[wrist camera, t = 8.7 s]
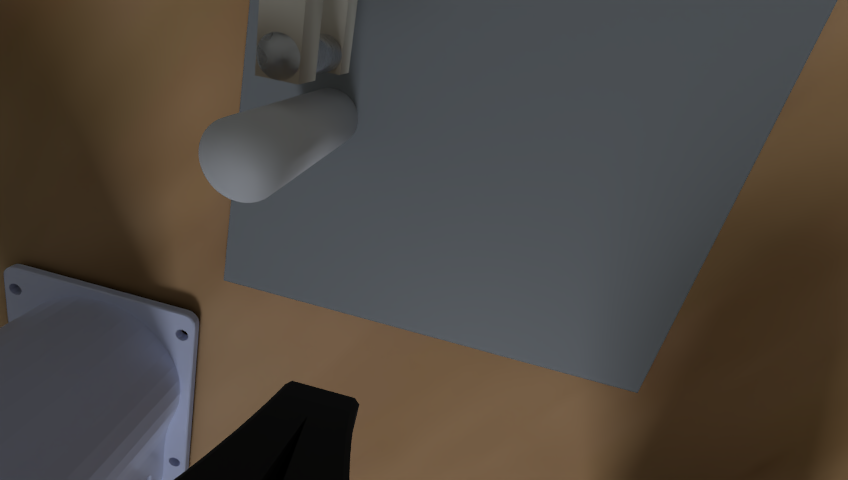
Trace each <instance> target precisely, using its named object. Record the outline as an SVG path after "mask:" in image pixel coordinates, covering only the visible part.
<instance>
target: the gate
mask: <svg viewBox="0 0 848 480" xmlns="http://www.w3.org/2000/svg"><path fill="white" fill-rule="evenodd" d="M357 2H358V0H259V12H258V29H257V47H256V65H255V76H260V77H265V78H270V79H274V80H279V81H284V82H288V83H293V84H298V85H299V84H303V83H307V82H312V81H315V78H316V74H318V73H323V72H328V73H333V74H337V75H342V74H346V73H349V65H350V57H351V49H352V41H353V33H354V25H355V18H356V10H357Z"/></svg>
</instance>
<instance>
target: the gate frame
mask: <svg viewBox="0 0 848 480" xmlns="http://www.w3.org/2000/svg"><path fill="white" fill-rule="evenodd" d="M836 2H837V0H358V2H357V10H356V18H355V25H354V33H353V41H352V49H351V57H350V65H349V73H346V74H342V75H337V74H333V73H328V72H323V73H318V74H316V78H315V81H312V82H307V83H303V84H299V85H298V84H293V83H288V82H284V81H279V80H274V79H270V78H265V77H260V76H255V65H256V47H257V29H258V12H259V0H250V6H249V16H248V27H247V38H246V48H245V59H244V70H243V81H242V91H241V102H240V113H237V114H234V115H230V116H227V117H223V118H221V119H218V120H216V121H215V122H213V123H212V124H211V125H210V126H209V127H208V128H207V129H206V130H205V132H204V133H203V135H202V138H201V140H200V144H199V161H200V165H201V168H202V171H203V173H204V175H205V177H206V178H207V180H208V181H209V183H210V184H211V185H212V186H213V187H214V188H215V189H216V190H217V191H218V192H219V193H221V194H222V195H224V196H225V197H227V198H229V199H231V209H230V220H229V230H228V241H227V252H226V263H225V273H224V280H225V281H228V282H232V283H236V284H239V285H243V286H247V287H250V288H254V289H258V290H262V291H265V292H269V293H273V294H276V295H280V296H284V297H287V298H291V299H295V300H298V301H302V302H306V303H309V304H313V305H317V306H320V307H324V308H328V309H331V310H335V311H339V312H342V313H346V314H350V315H353V316H357V317H361V318H364V319H368V320H372V321H375V322H379V323H383V324H386V325H390V326H394V327H397V328H401V329H405V330H408V331H412V332H416V333H419V334H423V335H427V336H430V337H434V338H438V339H441V340H445V341H449V342H452V343H456V344H460V345H463V346H467V347H471V348H474V349H478V350H482V351H485V352H489V353H493V354H496V355H500V356H504V357H507V358H511V359H515V360H518V361H522V362H526V363H529V364H533V365H537V366H540V367H544V368H548V369H551V370H555V371H559V372H562V373H566V374H570V375H573V376H577V377H581V378H584V379H588V380H592V381H595V382H599V383H603V384H607V385H610V386H614V387H618V388H621V389H625V390H629V391H632V392H636V393H638V391H639V389H640V387H641V385H642V383H643V381H644V379H645V377H646V375H647V373H648V371H649V369H650V367H651V365H652V363H653V361H654V359H655V357H656V355H657V353H658V352H659V350H660V348H661V346H662V344H663V342H664V340H665V338H666V336H667V334H668V332H669V330H670V328H671V326H672V324H673V322H674V320H675V318H676V316H677V314H678V312H679V310H680V308H681V306H682V304H683V302H684V300H685V299H686V297H687V295H688V293H689V291H690V289H691V287H692V285H693V283H694V281H695V279H696V277H697V275H698V273H699V271H700V269H701V267H702V265H703V263H704V261H705V259H706V257H707V255H708V253H709V251H710V249H711V247H712V245H713V244H714V242H715V240H716V238H717V236H718V234H719V232H720V230H721V228H722V226H723V224H724V222H725V220H726V218H727V216H728V214H729V212H730V210H731V208H732V206H733V204H734V202H735V200H736V198H737V196H738V194H739V192H740V190H741V189H742V187H743V185H744V183H745V181H746V179H747V177H748V175H749V173H750V171H751V169H752V167H753V165H754V163H755V161H756V159H757V157H758V155H759V153H760V151H761V149H762V147H763V145H764V143H765V141H766V139H767V137H768V135H769V134H770V132H771V130H772V128H773V126H774V124H775V122H776V120H777V118H778V116H779V114H780V112H781V110H782V108H783V106H784V104H785V102H786V100H787V98H788V96H789V94H790V92H791V90H792V88H793V86H794V84H795V82H796V80H797V79H798V77H799V75H800V73H801V71H802V69H803V67H804V65H805V63H806V61H807V59H808V57H809V55H810V53H811V51H812V49H813V47H814V45H815V43H816V41H817V39H818V37H819V35H820V33H821V31H822V29H823V27H824V26H825V24H826V22H827V20H828V18H829V16H830V14H831V12H832V10H833V8H834V6H835V4H836Z"/></svg>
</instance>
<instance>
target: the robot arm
mask: <svg viewBox="0 0 848 480" xmlns="http://www.w3.org/2000/svg"><path fill="white" fill-rule="evenodd" d="M4 283H5V293H6V303H7V313H8V324H6V325H4V326H2V327H1V328H0V480H349V470H350V452H351V440H352V432H353V428H354V424H355V420H356V416H357V412H358V407H359V404H358V402H357V401H356V399H355V398H352V397H349V396H345V395H342V394H338V393H334V392H331V391H327V390H323V389H320V388H316V387H313V386H309V385H305V384H302V383H298V382H294V381H291V382H289V383H287V384H285V385H284V386H283V387H282V388H281V389H280V390H279V391H278V392H277V393H276V394H275V395H274V396H273V397H272V398H271V399H270V400H269V401H268V402H267V403H266V404H265V405H264V406H263V407H261V408H260V409H259V410H258V411H257V412H256V413H255V414H254V415H253V416H252V417H250V418H249V419H248V420H247V421H246V422H245V423H244V424H242V425H241V426H240V427H239V428H238V429H237V430H236V431H234V432H233V433H232V434H231V435H230V436H228V437H227V438H226V439H225V440H224V441H222V442H221V443H220V444H219V445H217V446H216V447H215V448H214V449H213V450H211V451H210V452H209V453H208V454H207V455H205V456H204V457H203V458H202V459H200V460H199V461H198V462H197V463H195V464H194V465H193V466H191V467H190V468H189V469H188V467H189V454H190V441H191V427H192V414H193V400H194V387H195V374H196V360H197V347H198V333H199V319H198V317H197V316H196V315H195V314H194V313H193V312H192V311H189V310H187V309H183V308H179V307H176V306H172V305H168V304H165V303H161V302H158V301H154V300H150V299H147V298H143V297H139V296H136V295H132V294H128V293H125V292H121V291H117V290H114V289H110V288H106V287H103V286H99V285H95V284H92V283H88V282H85V281H81V280H77V279H74V278H70V277H66V276H63V275H59V274H55V273H52V272H48V271H44V270H41V269H37V268H33V267H30V266H26V265H22V264H14V265H12V266H10V267H8V268H6V269H5V271H4ZM182 330H184V331H186V333H187V334H188V335H185V334H184V333H183V332H182Z"/></svg>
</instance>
